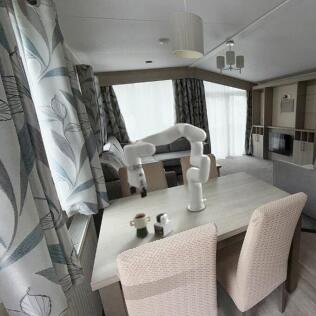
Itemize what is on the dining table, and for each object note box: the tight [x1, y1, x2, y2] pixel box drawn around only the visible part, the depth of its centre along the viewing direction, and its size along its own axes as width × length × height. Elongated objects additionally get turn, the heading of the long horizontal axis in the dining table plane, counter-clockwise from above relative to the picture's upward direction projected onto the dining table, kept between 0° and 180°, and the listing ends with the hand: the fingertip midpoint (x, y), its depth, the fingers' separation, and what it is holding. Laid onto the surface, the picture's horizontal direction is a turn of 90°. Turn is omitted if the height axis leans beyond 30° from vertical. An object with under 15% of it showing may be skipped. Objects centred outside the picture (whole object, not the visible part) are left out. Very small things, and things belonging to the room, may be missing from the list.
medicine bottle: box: [153, 212, 173, 238], centre depth 119 cm, size 7×7×12 cm
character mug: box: [129, 212, 151, 239], centre depth 117 cm, size 11×7×13 cm, turn 122°
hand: (138, 195), depth 113 cm, fingers open, 9 cm apart
